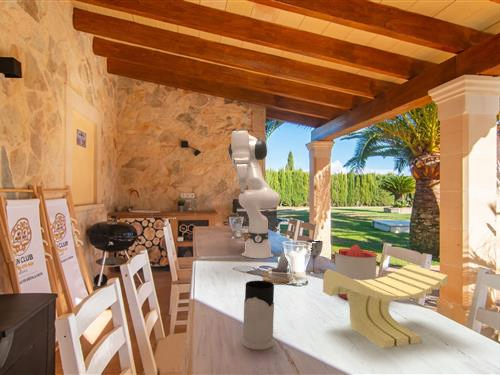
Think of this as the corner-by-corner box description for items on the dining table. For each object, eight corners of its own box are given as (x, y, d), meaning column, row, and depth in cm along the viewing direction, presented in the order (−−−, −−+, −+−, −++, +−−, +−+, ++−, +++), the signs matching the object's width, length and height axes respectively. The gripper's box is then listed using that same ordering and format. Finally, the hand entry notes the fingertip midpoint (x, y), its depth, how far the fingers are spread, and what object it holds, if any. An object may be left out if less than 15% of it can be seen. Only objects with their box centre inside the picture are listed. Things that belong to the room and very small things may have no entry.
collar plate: (262, 274, 154) (263, 266, 154) (293, 276, 153) (293, 267, 153) (263, 283, 140) (263, 274, 140) (296, 285, 139) (296, 275, 139)
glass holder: (236, 345, 84) (238, 286, 84) (252, 324, 98) (254, 273, 98) (269, 352, 82) (272, 291, 82) (281, 329, 95) (283, 277, 95)
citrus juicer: (335, 287, 139) (337, 239, 139) (379, 295, 130) (381, 244, 130) (323, 296, 125) (325, 244, 125) (371, 306, 117) (373, 250, 117)
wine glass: (323, 273, 160) (324, 242, 160) (306, 273, 160) (307, 242, 160) (319, 269, 168) (321, 240, 168) (304, 269, 168) (305, 239, 168)
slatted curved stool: (402, 317, 108) (404, 262, 108) (445, 338, 93) (447, 275, 93) (321, 326, 98) (323, 266, 98) (355, 352, 83) (357, 281, 83)
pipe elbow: (277, 277, 144) (288, 243, 147) (272, 275, 148) (282, 242, 151) (291, 282, 147) (301, 249, 150) (286, 280, 151) (296, 247, 154)
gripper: (234, 167, 165) (235, 195, 164) (234, 158, 145) (235, 190, 143) (247, 167, 166) (248, 194, 164) (249, 158, 145) (250, 189, 144)
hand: (242, 192), depth 153 cm, fingers open, 8 cm apart
